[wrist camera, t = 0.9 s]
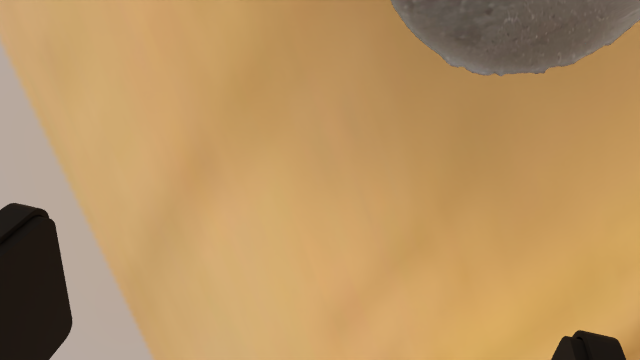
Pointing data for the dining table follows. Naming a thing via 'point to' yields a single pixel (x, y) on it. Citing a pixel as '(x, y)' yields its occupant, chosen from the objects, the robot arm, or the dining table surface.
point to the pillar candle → (516, 31)
